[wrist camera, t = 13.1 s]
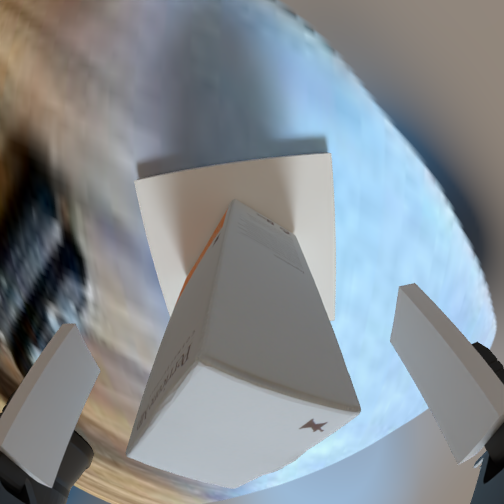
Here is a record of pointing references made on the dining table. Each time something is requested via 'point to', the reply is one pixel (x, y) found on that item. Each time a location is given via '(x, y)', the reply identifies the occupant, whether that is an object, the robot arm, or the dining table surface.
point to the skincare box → (243, 362)
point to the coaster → (252, 195)
